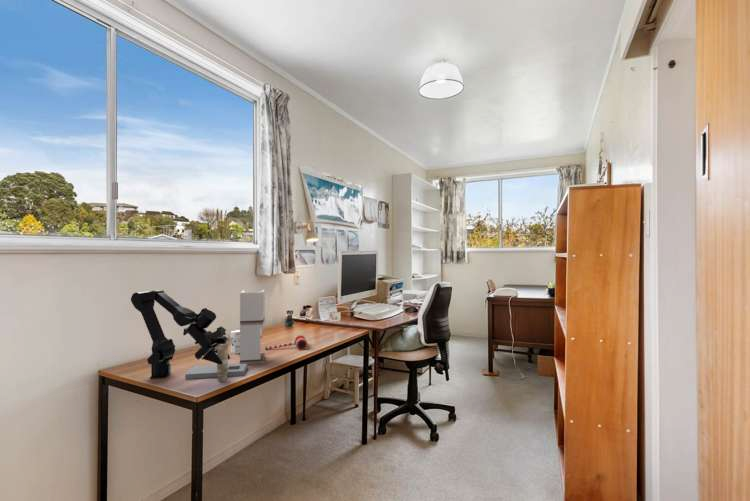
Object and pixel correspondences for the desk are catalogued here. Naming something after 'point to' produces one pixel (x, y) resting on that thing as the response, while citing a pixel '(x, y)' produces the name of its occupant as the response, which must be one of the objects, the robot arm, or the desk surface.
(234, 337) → the ink box
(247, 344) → the tall grey banded box
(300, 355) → the desk surface
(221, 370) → the wooden leg
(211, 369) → the board
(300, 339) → the toy hammer
